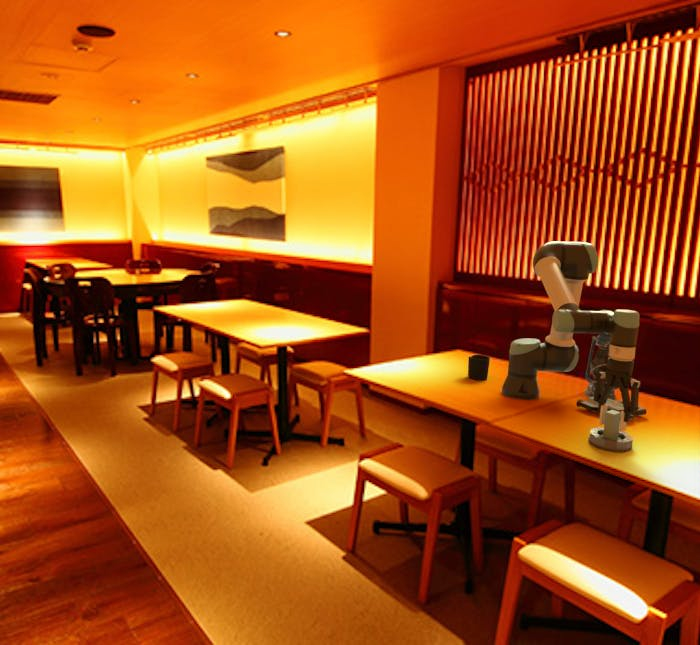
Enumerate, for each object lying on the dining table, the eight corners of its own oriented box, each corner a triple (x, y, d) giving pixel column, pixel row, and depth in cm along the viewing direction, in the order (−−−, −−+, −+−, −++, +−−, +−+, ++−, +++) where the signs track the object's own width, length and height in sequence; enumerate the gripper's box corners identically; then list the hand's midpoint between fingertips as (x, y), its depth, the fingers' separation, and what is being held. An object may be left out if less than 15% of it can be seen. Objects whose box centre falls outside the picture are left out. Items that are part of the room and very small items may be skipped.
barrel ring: (580, 441, 185) (581, 432, 184) (602, 434, 192) (603, 424, 192) (618, 455, 174) (619, 445, 174) (639, 447, 182) (641, 437, 181)
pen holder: (491, 381, 252) (493, 359, 251) (471, 381, 251) (472, 359, 249) (483, 375, 261) (485, 354, 260) (464, 375, 260) (465, 354, 258)
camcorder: (627, 426, 202) (629, 412, 201) (574, 409, 217) (575, 396, 216) (647, 418, 212) (649, 405, 211) (595, 402, 227) (597, 390, 226)
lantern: (575, 392, 240) (583, 323, 235) (592, 388, 247) (600, 321, 241) (608, 402, 227) (617, 330, 222) (625, 398, 234) (634, 328, 229)
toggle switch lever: (594, 440, 184) (597, 410, 182) (605, 436, 188) (608, 407, 186) (614, 447, 178) (618, 417, 176) (625, 443, 182) (629, 413, 180)
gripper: (586, 353, 183) (578, 420, 188) (645, 366, 168) (635, 439, 172) (599, 350, 188) (591, 416, 192) (657, 363, 173) (647, 434, 177)
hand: (612, 427), depth 182 cm, fingers open, 6 cm apart
